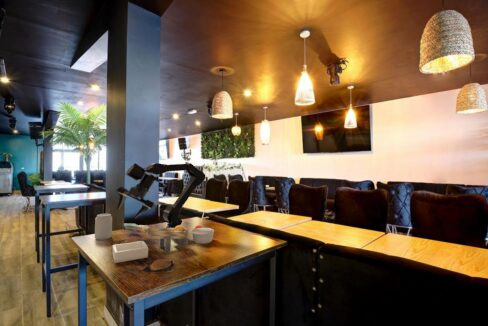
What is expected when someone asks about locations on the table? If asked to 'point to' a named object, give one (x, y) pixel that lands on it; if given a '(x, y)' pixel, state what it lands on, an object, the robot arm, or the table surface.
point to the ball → (178, 228)
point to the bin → (129, 251)
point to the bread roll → (159, 266)
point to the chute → (162, 233)
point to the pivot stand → (167, 244)
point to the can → (103, 226)
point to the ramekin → (202, 235)
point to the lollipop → (200, 223)
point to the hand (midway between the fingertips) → (126, 214)
